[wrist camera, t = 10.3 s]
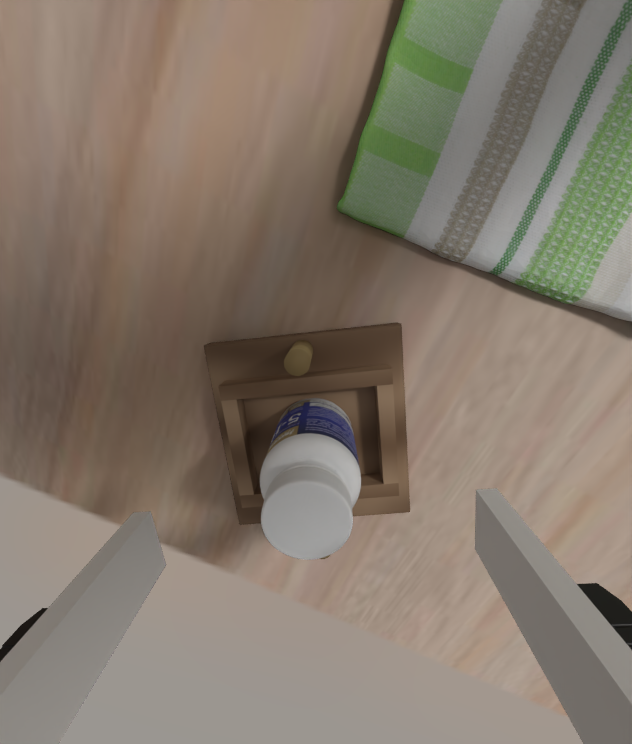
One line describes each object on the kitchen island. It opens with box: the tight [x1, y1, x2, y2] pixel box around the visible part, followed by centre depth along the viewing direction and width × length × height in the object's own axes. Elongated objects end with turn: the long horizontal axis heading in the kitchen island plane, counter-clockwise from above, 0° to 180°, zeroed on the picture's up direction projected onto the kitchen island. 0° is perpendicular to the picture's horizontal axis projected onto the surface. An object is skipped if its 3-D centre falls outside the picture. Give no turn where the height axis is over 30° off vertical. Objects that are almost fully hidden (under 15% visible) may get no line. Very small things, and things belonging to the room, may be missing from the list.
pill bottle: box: [260, 398, 361, 560], centre depth 17 cm, size 5×5×9 cm
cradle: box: [204, 323, 410, 559], centre depth 20 cm, size 14×13×5 cm
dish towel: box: [337, 0, 632, 322], centre depth 17 cm, size 17×23×4 cm
